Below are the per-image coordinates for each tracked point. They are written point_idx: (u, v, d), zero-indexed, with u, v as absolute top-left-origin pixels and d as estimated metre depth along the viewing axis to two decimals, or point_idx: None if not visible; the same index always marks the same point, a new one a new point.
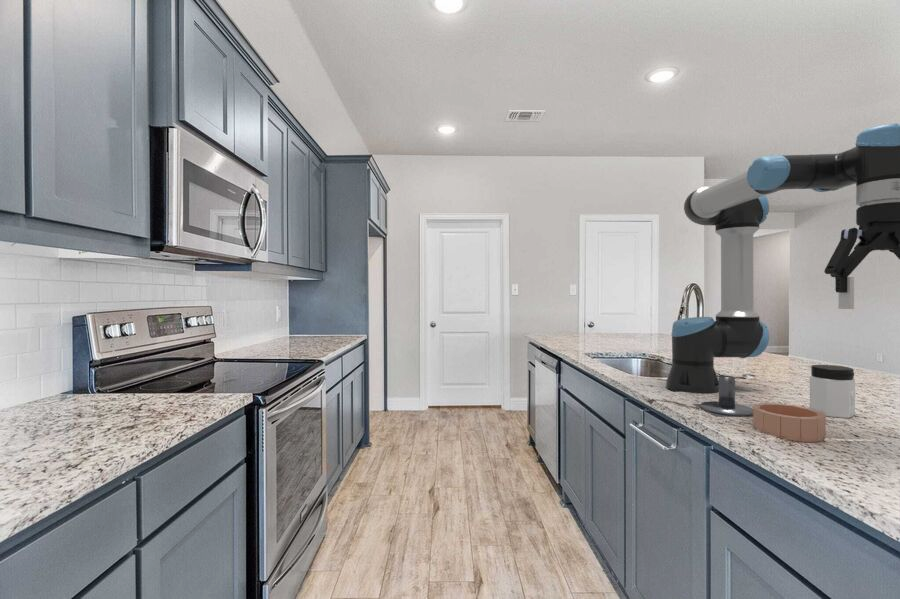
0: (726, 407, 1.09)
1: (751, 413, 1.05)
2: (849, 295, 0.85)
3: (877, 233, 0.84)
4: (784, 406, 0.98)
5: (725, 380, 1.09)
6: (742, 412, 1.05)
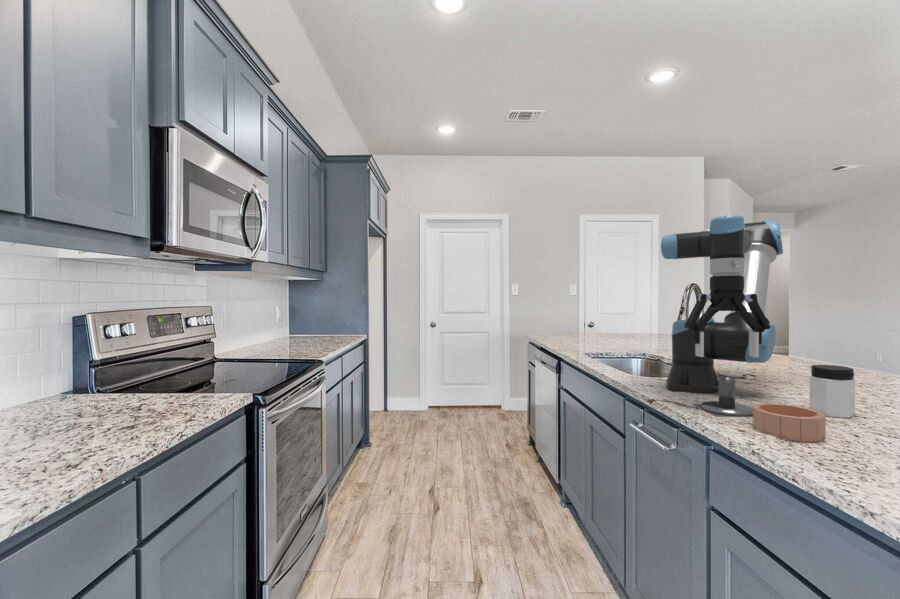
0: (726, 407, 1.09)
1: (751, 413, 1.05)
2: (700, 346, 1.09)
3: (721, 298, 1.09)
4: (784, 406, 0.98)
5: (725, 380, 1.09)
6: (742, 412, 1.05)
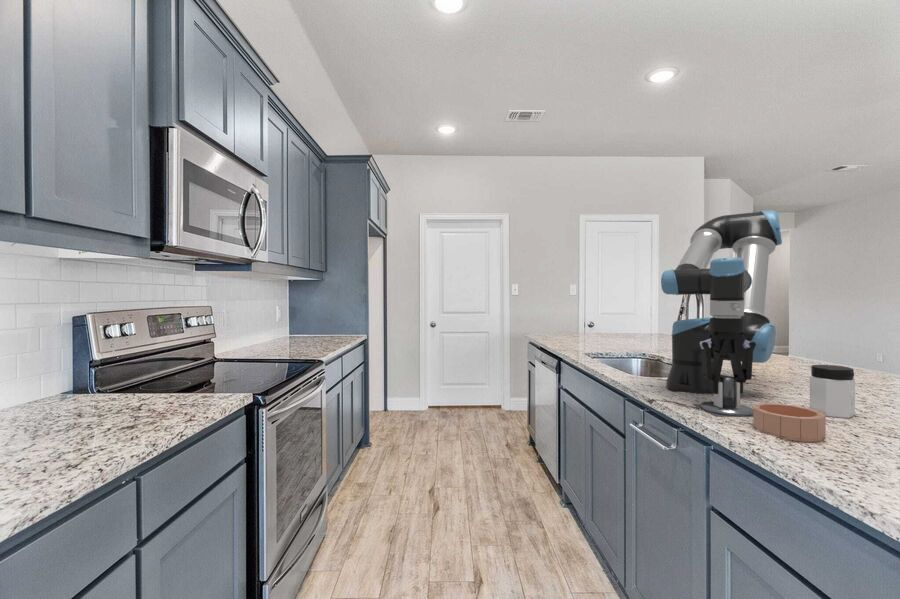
0: (726, 407, 1.09)
1: (751, 413, 1.05)
2: (719, 396, 1.09)
3: (721, 342, 1.09)
4: (784, 406, 0.98)
5: (725, 380, 1.09)
6: (742, 412, 1.05)
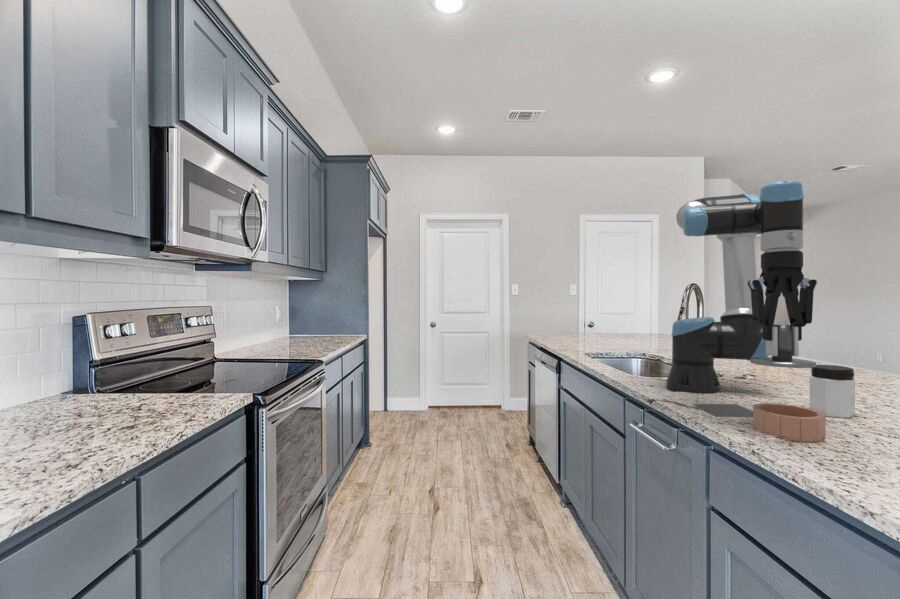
0: (782, 360, 0.93)
1: (813, 365, 0.89)
2: (773, 343, 0.94)
3: (775, 279, 0.94)
4: (784, 406, 0.98)
5: (781, 328, 0.93)
6: (803, 363, 0.89)
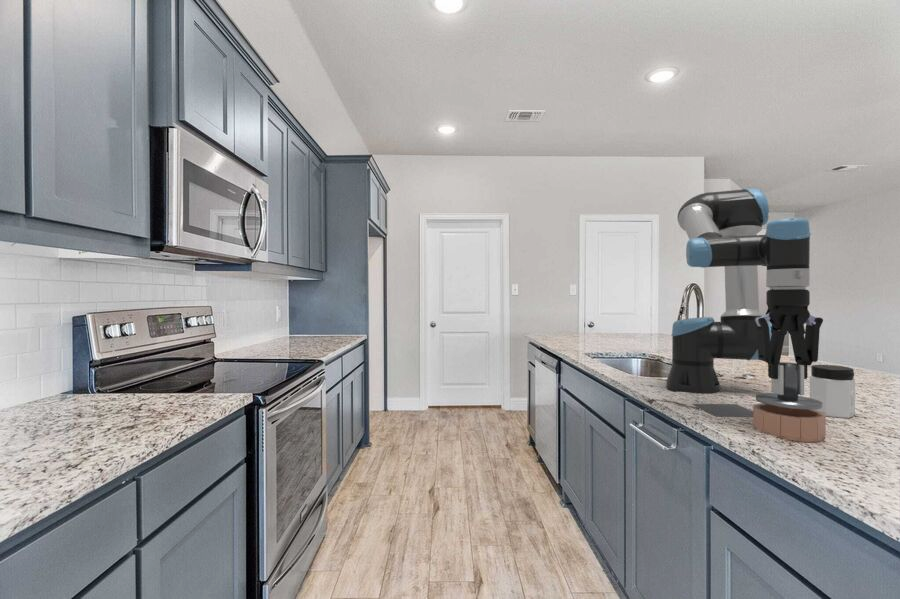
0: (788, 399, 0.92)
1: (820, 406, 0.89)
2: (779, 382, 0.93)
3: (781, 317, 0.93)
4: None
5: (787, 367, 0.92)
6: (809, 404, 0.89)
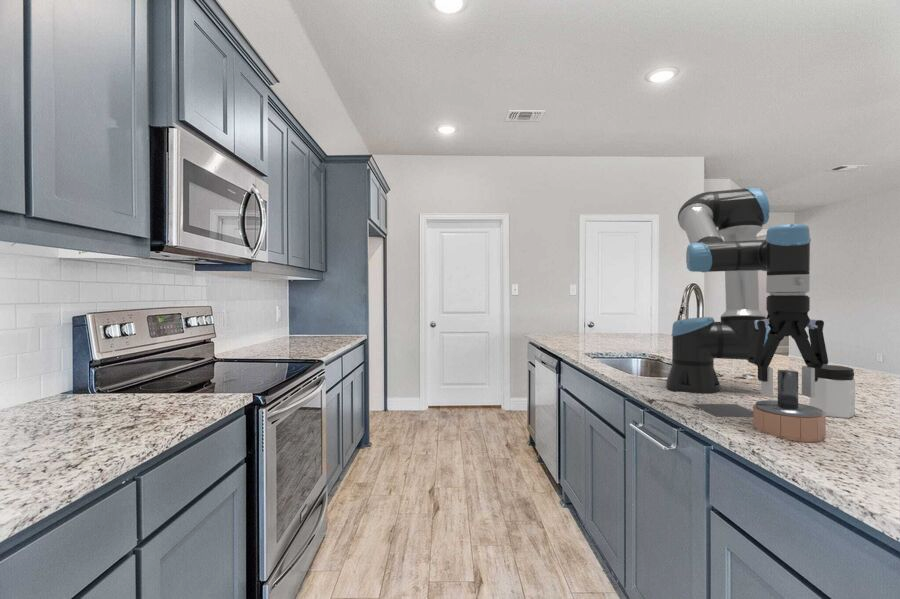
0: (788, 407, 0.92)
1: (820, 414, 0.89)
2: (768, 384, 0.93)
3: (782, 322, 0.93)
4: None
5: (787, 375, 0.92)
6: (809, 413, 0.89)
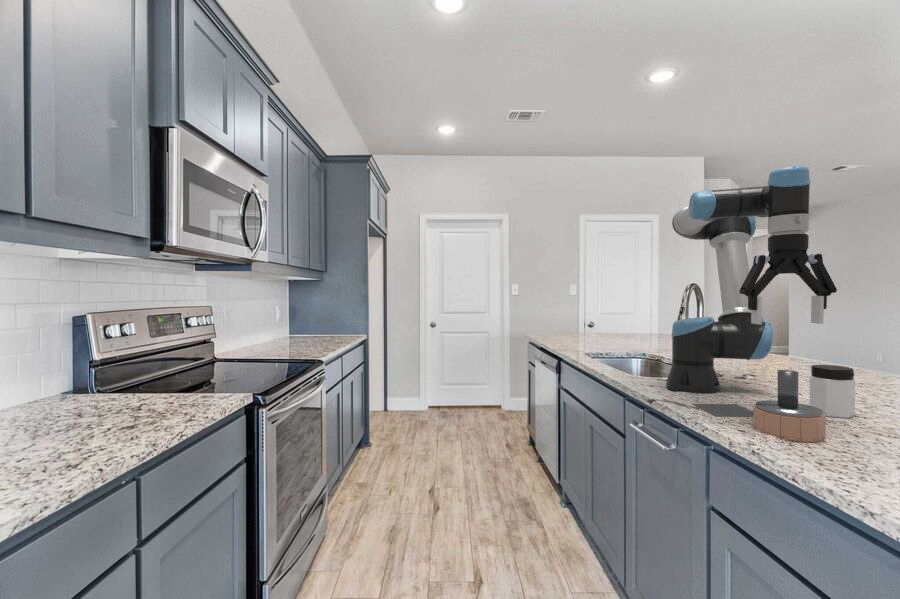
0: (788, 407, 0.92)
1: (820, 414, 0.89)
2: (758, 312, 1.00)
3: (782, 259, 0.99)
4: None
5: (787, 375, 0.92)
6: (809, 413, 0.89)
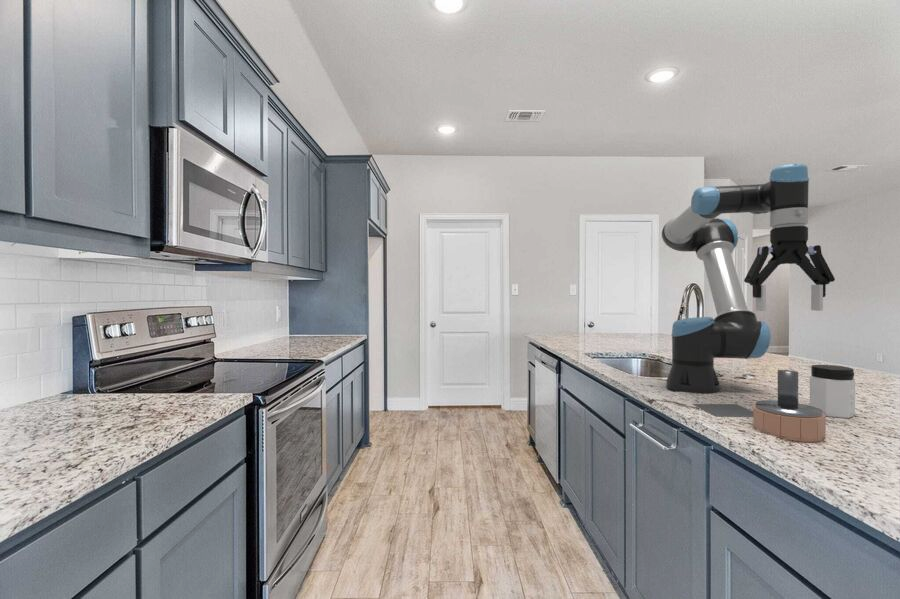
0: (788, 407, 0.92)
1: (820, 414, 0.89)
2: (762, 300, 1.06)
3: (784, 250, 1.06)
4: None
5: (787, 375, 0.92)
6: (809, 413, 0.89)
